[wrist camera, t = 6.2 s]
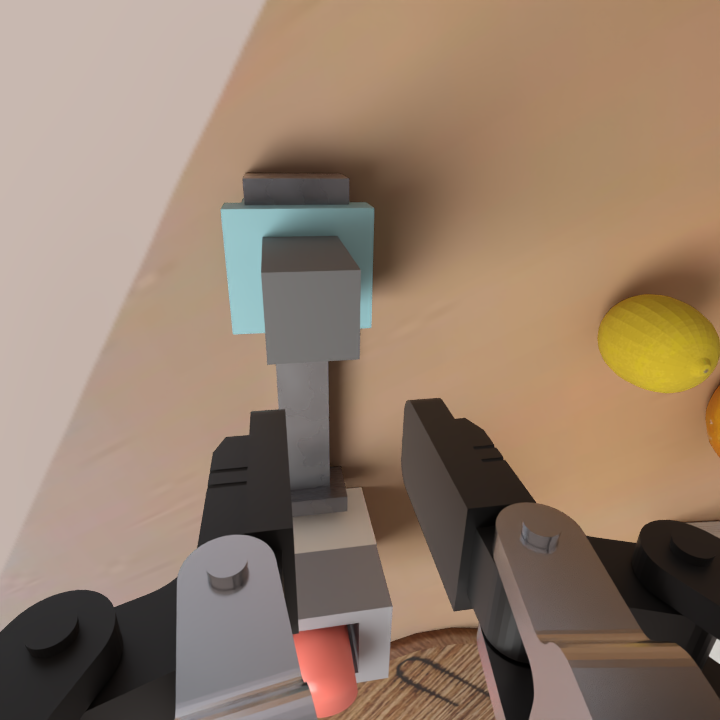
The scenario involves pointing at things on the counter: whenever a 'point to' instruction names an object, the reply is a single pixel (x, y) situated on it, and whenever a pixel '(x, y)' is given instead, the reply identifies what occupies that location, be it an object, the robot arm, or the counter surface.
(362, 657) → the grey and white block
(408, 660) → the trivet
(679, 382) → the lemon
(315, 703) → the button
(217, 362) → the counter surface
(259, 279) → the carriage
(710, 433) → the fruit
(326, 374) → the rail
